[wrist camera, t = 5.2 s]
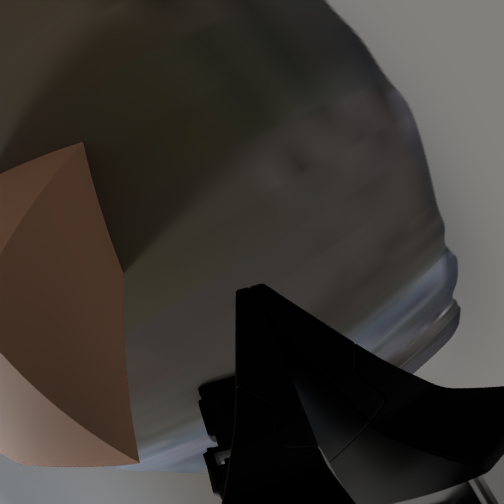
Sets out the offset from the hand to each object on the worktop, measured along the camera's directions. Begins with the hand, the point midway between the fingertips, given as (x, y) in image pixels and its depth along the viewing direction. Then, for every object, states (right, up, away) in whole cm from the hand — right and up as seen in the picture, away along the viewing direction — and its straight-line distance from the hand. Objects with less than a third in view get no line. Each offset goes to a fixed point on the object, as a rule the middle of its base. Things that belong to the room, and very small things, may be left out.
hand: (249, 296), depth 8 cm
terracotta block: (-10, +3, +4) cm, 12 cm away
